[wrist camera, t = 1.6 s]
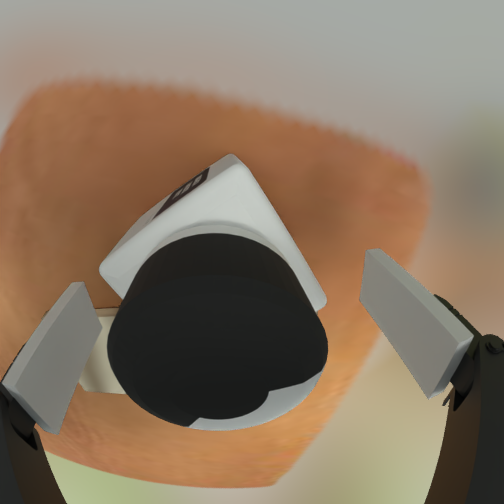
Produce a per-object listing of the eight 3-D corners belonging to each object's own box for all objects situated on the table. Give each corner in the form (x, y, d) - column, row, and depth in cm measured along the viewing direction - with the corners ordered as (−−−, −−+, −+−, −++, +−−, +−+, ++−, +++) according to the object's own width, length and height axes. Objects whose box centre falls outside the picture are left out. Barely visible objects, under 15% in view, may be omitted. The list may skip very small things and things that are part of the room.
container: (137, 218, 17) (35, 355, 5) (232, 150, 16) (271, 184, 4) (203, 298, 20) (201, 463, 8) (292, 244, 19) (381, 389, 8)
